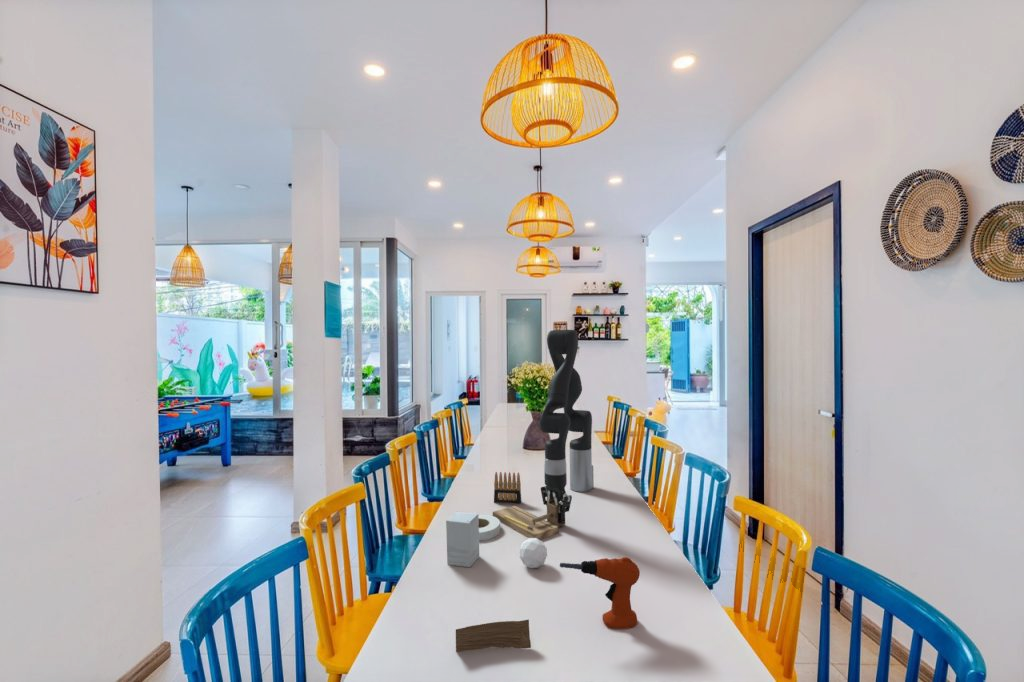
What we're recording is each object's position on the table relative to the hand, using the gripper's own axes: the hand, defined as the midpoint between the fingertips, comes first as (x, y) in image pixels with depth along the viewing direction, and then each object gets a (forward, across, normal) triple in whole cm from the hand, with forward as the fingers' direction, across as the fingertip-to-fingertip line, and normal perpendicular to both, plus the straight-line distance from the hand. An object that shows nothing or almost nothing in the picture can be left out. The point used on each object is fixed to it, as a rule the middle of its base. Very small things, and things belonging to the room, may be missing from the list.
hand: (556, 520), depth 155 cm
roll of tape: (+2, +13, +24) cm, 27 cm away
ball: (+2, -17, +24) cm, 29 cm away
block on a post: (+1, 0, +4) cm, 4 cm away
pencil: (0, +6, +12) cm, 14 cm away
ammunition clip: (+2, +28, +1) cm, 28 cm away
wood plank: (+2, -39, +51) cm, 64 cm away
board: (+2, +7, +8) cm, 11 cm away
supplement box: (+2, -2, +38) cm, 38 cm away
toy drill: (+2, -46, +28) cm, 54 cm away
